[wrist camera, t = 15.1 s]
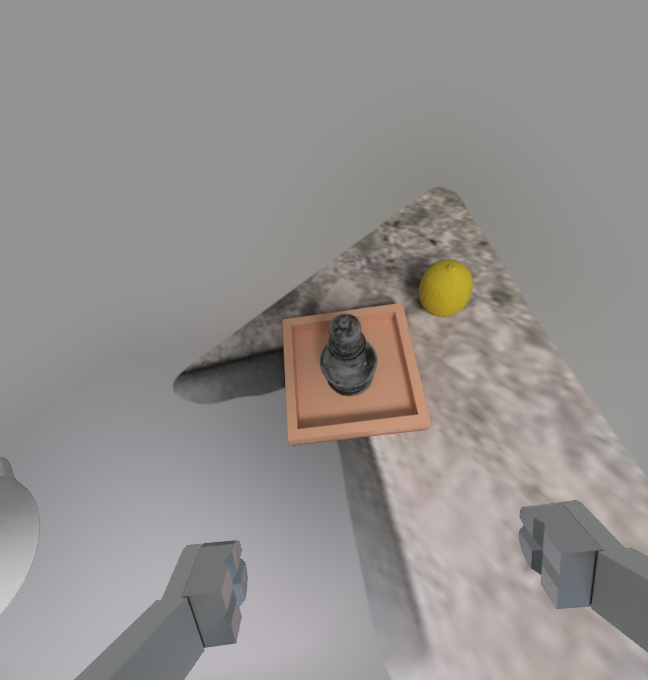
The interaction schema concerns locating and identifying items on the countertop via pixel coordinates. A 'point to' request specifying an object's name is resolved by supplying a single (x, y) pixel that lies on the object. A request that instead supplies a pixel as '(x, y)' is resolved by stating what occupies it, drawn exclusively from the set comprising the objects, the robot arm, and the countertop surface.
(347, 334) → the dark grey chess piece
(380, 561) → the countertop surface
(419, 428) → the tray
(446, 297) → the lemon
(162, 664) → the robot arm
